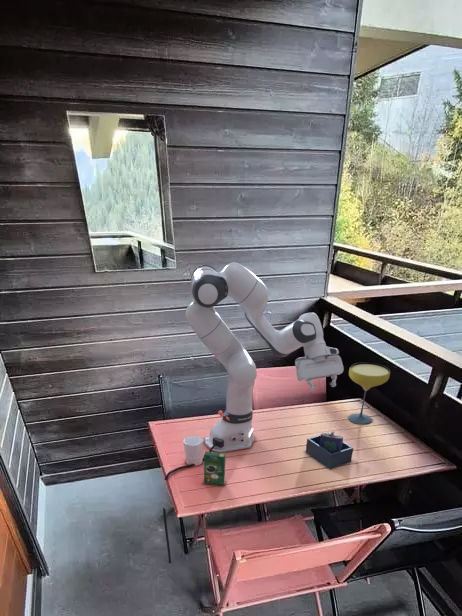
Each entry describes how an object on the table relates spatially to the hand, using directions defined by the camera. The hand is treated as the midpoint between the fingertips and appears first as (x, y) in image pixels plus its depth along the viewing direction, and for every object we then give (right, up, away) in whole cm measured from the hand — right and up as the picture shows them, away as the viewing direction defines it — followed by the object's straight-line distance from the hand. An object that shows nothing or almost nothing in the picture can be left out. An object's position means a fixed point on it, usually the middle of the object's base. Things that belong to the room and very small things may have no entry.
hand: (323, 388), depth 179 cm
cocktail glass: (+25, -6, +36) cm, 45 cm away
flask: (+4, -26, +7) cm, 27 cm away
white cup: (-53, -30, +4) cm, 61 cm away
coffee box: (-44, -39, -9) cm, 59 cm away
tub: (+3, -27, +7) cm, 28 cm away
